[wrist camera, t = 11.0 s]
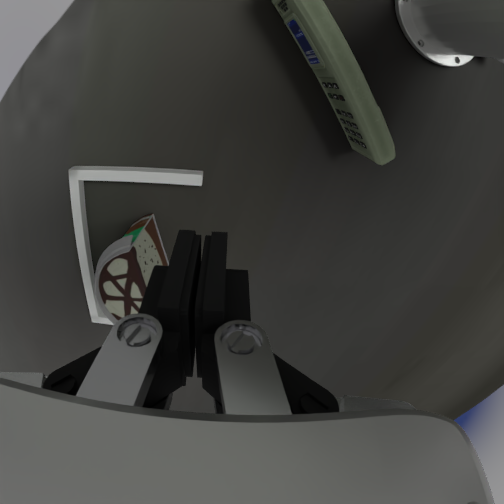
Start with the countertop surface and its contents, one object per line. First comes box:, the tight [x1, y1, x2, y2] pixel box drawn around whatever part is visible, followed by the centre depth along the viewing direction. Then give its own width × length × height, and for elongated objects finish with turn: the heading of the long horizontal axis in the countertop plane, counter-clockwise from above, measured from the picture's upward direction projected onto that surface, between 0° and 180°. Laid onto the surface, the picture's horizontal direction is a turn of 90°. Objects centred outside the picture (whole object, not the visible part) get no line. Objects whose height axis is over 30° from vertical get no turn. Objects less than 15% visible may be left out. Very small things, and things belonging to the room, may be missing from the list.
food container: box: [94, 213, 169, 325], centre depth 34 cm, size 12×6×10 cm, turn 9°
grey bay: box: [69, 166, 203, 325], centre depth 38 cm, size 15×22×2 cm
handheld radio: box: [271, 0, 396, 165], centre depth 25 cm, size 7×3×25 cm
